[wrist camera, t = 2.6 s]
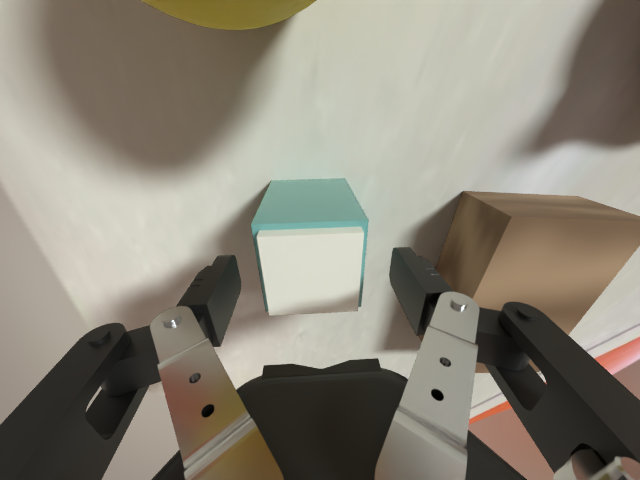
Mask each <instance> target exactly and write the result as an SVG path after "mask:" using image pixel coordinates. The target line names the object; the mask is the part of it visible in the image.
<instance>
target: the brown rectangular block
mask: <svg viewBox="0 0 640 480" xmlns="http://www.w3.org/2000/svg"><path fill="white" fill-rule="evenodd" d="M639 246H640V216H637V215H634V214H631V213H628V212H625V211H622V210H619V209H615V208H612V207H609V206H606V205H603V204H600V203H597V202H594V201H591V200H588V199H585V198H582V197H579V196H560V195H538V194H516V193H494V192H472V191H463V193H462V195H461V198H460V201H459V204H458V207H457V210H456V212H455V215H454V218H453V221H452V224H451V227H450V230H449V232H448V235H447V238H446V241H445V244H444V247H443V249H442V252H441V255H440V258H439V261H438V264H437V266H436V270H437V272H438V273H439V275H441V276H442V278H443V279H444V280H445V281H446V282H447V284H448V285H449V286H450V287H451V289H452V290H453V291H454V292H458V293H461V294H464V295H466V296H468V297H470V298H472V299H473V300H474V301H475V302H476V303H477V304H478V306H479V307H481V308H486V309H492V310H498V311H501V310H502V307H503V305H504V304H505V303H507V302H521V303H525V304H528V305H530V306H533V307H535V308H537V309H538V310H540V311H541V312H543V313H544V314H545V315H546V316H547V317H549V318H550V319H551V320H552V321H553V322H554V323H555V324H556V325H557V326H558V327H560V328H561V329H562V330H563V331H564V332H565V333H566V334H567V335H569V334H570V332H571V331H572V330H573V329H574V327H575V326H576V325H577V324H578V322H579V321H580V320H581V319H582V317H583V316H584V315H585V314H586V312H587V311H588V310H589V308H590V307H591V306H592V305H593V303H594V302H595V301H596V300H597V298H598V297H599V296H600V295H601V293H602V292H603V291H604V290H605V288H606V287H607V286H608V285H609V283H610V282H611V281H612V280H613V278H614V277H615V276H616V275H617V273H618V272H619V271H620V270H621V268H622V267H623V266H624V265H625V263H626V262H627V261H628V260H629V258H630V257H631V256H632V255H633V253H634V252H635V251H636V250H637V248H638V247H639ZM419 337H420V340H421V342H422V341H423V338H424V335H419ZM529 364H530V365H531V367H532V368H533V369H534V370H535V371H536V372H539V371H540V370H539V369H538V367H537V366H536V365H535V364H534V363H533V362H532V360H530V361H529ZM475 373H490V372H489V371H488V369H487V368H486V366H485V364H483V363H478V362H476V368H475Z"/></svg>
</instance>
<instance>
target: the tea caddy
mask: <svg viewBox="0 0 640 480" xmlns="http://www.w3.org/2000/svg"><path fill="white" fill-rule="evenodd" d="M251 228H252V234H253V239H254V245H255V251H256V257H257V263H258V269H259V275H260V281H261V286H262V292H263V298H264V304H265V310H266V312H267V311H269V316H274V315H293V314H313V313H332V312H351V311H358V307H361V301H362V289H363V278H364V266H365V255H366V243H367V232H368V218H367V216H366V215H365V213H364V211H363V209H362V207H361V206H360V204H359V202H358V200H357V199H356V197H355V195H354V193H353V192H352V190H351V188H350V186H349V184H348V183H347V181H346V179H345V178H342V179H309V180H276V181H271V183H270V185H269V187H268V189H267V191H266V193H265V195H264V198H263V200H262V202H261V204H260V206H259V208H258V210H257V212H256V215H255V217H254V219H253V221H252V223H251Z"/></svg>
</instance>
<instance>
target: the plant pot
mask: <svg viewBox="0 0 640 480" xmlns="http://www.w3.org/2000/svg"><path fill="white" fill-rule="evenodd" d="M141 1H143V2H145V3H146V4H148V5H150V6H152V7H154V8H156V9H158V10H160V11H162V12H164V13H166V14H168V15H171V16H173V17H175V18H178V19H181V20H184V21H187V22H190V23H193V24H196V25H199V26H204V27H209V28H215V29H226V30H244V29H253V28H259V27H264V26H267V25H271V24H275V23H278V22H280V21H282V20H285V19H287V18H289V17H291V16H293V15H295V14H296V13H298V12H300V11H302V10H303V9H305V8H307V7H308V6H309V5H311V4H312V3H314V2H315V1H316V0H141Z"/></svg>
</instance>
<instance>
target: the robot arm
mask: <svg viewBox="0 0 640 480" xmlns="http://www.w3.org/2000/svg"><path fill="white" fill-rule="evenodd" d="M389 277H390V283H391V286H392V288H393V290H394V292H395V294H396V296H397V298H398V300H399V302H400V304H401V306H402V308H403V310H404V312H405V314H406V316H407V318H408V320H409V322H410V324H411V326H412V328H413V330H414V332H415V334H416V336H417V335H424V338H423V341H422V343H421V346H420V349H419V352H418V354H417V357H416V360H415V363H414V365H413V368H412V371H411V374H410V376H409V379H407V378H405V377H404V376H402V375H400V374H398V373H396V372H393V371H391V370H387V369H384V368H381V367H380V364H379V360H378V358H377V359H361V360H349V361H346V362H343V363H340V364H337V365H334V366H331V367H327V368H324V369H317V368H312V367H307V366H301V365H296V364H282V365H266V366H264V368H263V374H262V376H259V377H257V378H254V379H252V380H250V381H248V382H247V383H245V384H243V385H242V386H241V387H239V388H238V389H237V390H236V389H235V387H234V386H233V384H232V382H231V380H230V378H229V376H228V374H227V372H226V370H225V369H224V367H223V365H222V363H221V361H220V359H219V357H218V355H217V354H216V352H215V350H214V348H213V347H220V346H221V343H222V341H223V338H224V335H225V332H226V330H227V327H228V324H229V321H230V319H231V316H232V313H233V311H234V308H235V305H236V302H237V300H238V297H239V294H240V291H241V279H240V275H239V270H238V266H237V261H236V257H235V256H234V255H220V256H217V258H216V259H215V261H214V263H213V264H212V266H207V267H205V268H204V269H203V270H201V271H200V272H199V273H198V274H197V276H196V277H195V279H194V281H193V282H192V283H191V285H190V287H189V288H188V289H187V291H186V292H185V294H184V295H183V297H182V298H181V300H180V301H179V303H178V304H177V306H176V307H173V308H170V309H167V310H165V311H163V312H162V313H160V314H159V315H158V316H156V317H155V318H154V319H153V321H152V322H151V325H149V326H146V327H142V328H139V329H135V330H131V331H128V332H127V331H126V329H125V327H124V326H123V325H122V324H120V323H110V324H106V325H103V326H100V327H98V328H95V329H93V330H92V331H90V332H88V333H87V334H85V335H84V336H83V337H82V338H81V339H79V341H78V342H77V343H76V344H75V345H74V346H73V347H72V348H71V349H70V350H69V351H68V352H67V354H65V356H64V357H63V358H62V359H61V360H60V361H59V362H58V363H57V364H56V365H55V366H54V368H53V369H52V370H51V371H50V372H49V373H48V374H47V375H46V376H45V377H44V378H43V379H42V381H41V382H40V383H39V384H38V385H37V386H36V387H35V388H34V389H33V390H32V391H31V392H30V393H29V394H28V396H27V397H26V398H25V399H24V400H23V401H22V402H21V403H20V404H19V405H18V407H16V409H15V410H14V411H13V412H12V413H11V414H10V415H9V416H8V417H7V418H6V419H5V420H4V422H3V423H2V424H1V425H0V480H101V479H102V477H103V475H104V473H105V471H106V470H107V468H108V466H109V464H110V462H111V460H112V458H113V456H114V454H115V452H116V450H117V448H118V446H119V444H120V442H121V440H122V438H123V436H124V434H125V432H126V430H127V428H128V427H129V425H130V423H131V421H132V419H133V417H134V415H135V413H136V411H137V409H138V407H139V405H140V403H141V401H142V399H143V397H144V395H145V393H146V391H147V389H148V387H149V385H152V384H154V383H157V382H160V381H162V385H163V389H164V393H165V396H166V400H167V404H168V408H169V411H170V415H171V419H172V423H173V426H174V430H175V434H176V438H177V441H178V445H179V449H180V450H179V451H178V452H177V453H176V454H175V455H174V456H173V457H172V458H171V459H170V460H169V461H168V462H167V464H166V465H165V466H164V467H163V468H162V469H161V470H160V471H159V472H158V473H157V474H156V476H154V477H153V479H152V480H527V479H526V478H524V477H523V476H522V475H521V474H520V473H518V472H517V471H516V470H515V469H514V468H513V467H511V466H510V465H509V464H508V463H507V462H506V461H504V460H503V459H502V458H501V457H500V456H498V455H497V454H496V453H495V452H494V451H493V450H491V449H490V448H489V447H488V446H487V445H486V444H484V443H483V442H482V441H481V440H480V439H479V438H477V437H476V436H475V435H474V434H473V433H471V432H470V431H469V430H468V425H469V417H470V408H471V400H472V392H473V384H474V376H475V368H476V362H478V363H483V364H485V366H486V368H487V369H488V371H489V372H490V374H491V375H492V377H493V378H494V380H495V382H496V383H497V385H498V386H499V388H500V389H501V391H502V392H503V394H504V396H505V397H506V399H507V400H508V402H509V403H510V405H511V406H512V408H513V410H514V411H515V413H516V414H517V416H518V417H519V419H520V420H521V422H522V423H523V425H524V427H525V428H526V430H527V431H528V433H529V434H530V436H531V438H532V439H533V441H534V442H535V444H536V445H537V447H538V448H539V450H540V452H541V453H542V455H543V456H544V458H545V459H546V461H547V462H548V464H549V466H550V467H551V469H552V470H553V472H554V473H555V474H554V477H553V480H640V400H639V399H638V398H637V397H635V396H634V395H633V394H632V393H631V392H630V391H629V390H628V389H627V388H626V387H624V386H623V385H622V384H621V383H620V382H619V381H618V380H617V379H616V378H614V377H613V376H612V375H611V374H610V373H609V372H608V371H607V370H606V369H605V368H604V367H602V366H601V365H600V364H599V363H598V362H597V361H596V360H595V359H594V358H593V357H591V356H590V355H589V354H588V353H587V352H586V351H585V350H584V349H583V348H582V347H580V346H579V345H578V344H577V343H576V342H575V341H574V340H573V339H572V338H571V337H569V336H568V335H567V334H566V333H565V332H564V331H563V330H562V329H561V328H560V327H558V326H557V325H556V324H555V323H554V322H553V321H552V320H551V319H550V318H549V317H547V316H546V315H545V314H544V313H543V312H541V311H540V310H538V309H537V308H535V307H533V306H530V305H528V304H525V303H521V302H507V303H505V304H504V305H503V307H502V310H501V311H498V310H492V309H486V308H481V307H479V306H478V304H477V303H476V302H475V301H474V300H473V299H472V298H470V297H468V296H466V295H464V294H461V293H458V292H454V291H453V290H452V289H451V287H450V286H449V285H448V284H447V282H446V281H445V280H444V279H443V278H442V276H441V275H439V273H438V272H437V270H436V269H434V267H433V266H432V264H431V263H430V262H429V261H427V260H426V259H424V258H423V257H421V256H416V255H415V253H414V252H413V251H412V249H411V248H410V247H399V248H394V249H393V251H392V258H391V266H390V273H389ZM530 360H532V362H533V363H534V364H535V365H536V366H537V367H538V369H539V370H540V371H541V372H542V374H543V375H544V377H545V379H546V383H547V385H546V384H545V382H544V381H543V380H542V379H541V377H540V376H539V375H538V374H537V373H536V371H535V370H534V369H533V368H532V367H531V365H530V364H529V361H530ZM100 386H101V388H102V390H101V391H100V392H99V394H98V395H97V397H96V398H95V400H94V401H93V403H92V404H91V406H90V407H89V408H88V410H87V412H86V408H87V406H88V404H89V402H90V400H91V399H92V397H93V396H94V394H95V393H96V391H97V390H98V388H99V387H100Z"/></svg>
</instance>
